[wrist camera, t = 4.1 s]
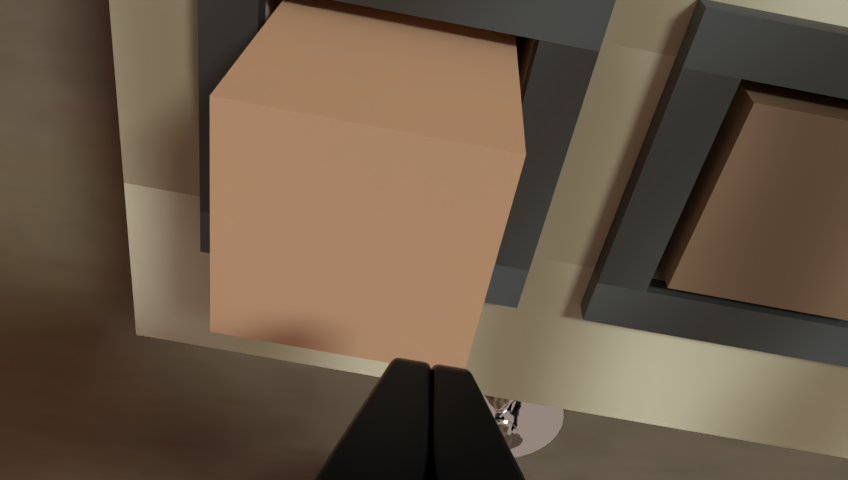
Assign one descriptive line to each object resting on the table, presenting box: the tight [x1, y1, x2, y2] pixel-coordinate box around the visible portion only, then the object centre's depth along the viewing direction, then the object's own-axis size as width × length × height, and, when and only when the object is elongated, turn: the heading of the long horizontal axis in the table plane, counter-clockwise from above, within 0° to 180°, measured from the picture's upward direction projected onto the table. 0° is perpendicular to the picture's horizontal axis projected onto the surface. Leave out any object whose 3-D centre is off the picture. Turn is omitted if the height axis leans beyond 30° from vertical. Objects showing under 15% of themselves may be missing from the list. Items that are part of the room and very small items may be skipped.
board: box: [109, 0, 848, 458], centre depth 15 cm, size 18×13×6 cm
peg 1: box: [210, 0, 526, 369], centre depth 12 cm, size 4×4×5 cm
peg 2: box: [659, 79, 848, 320], centre depth 15 cm, size 4×4×5 cm
